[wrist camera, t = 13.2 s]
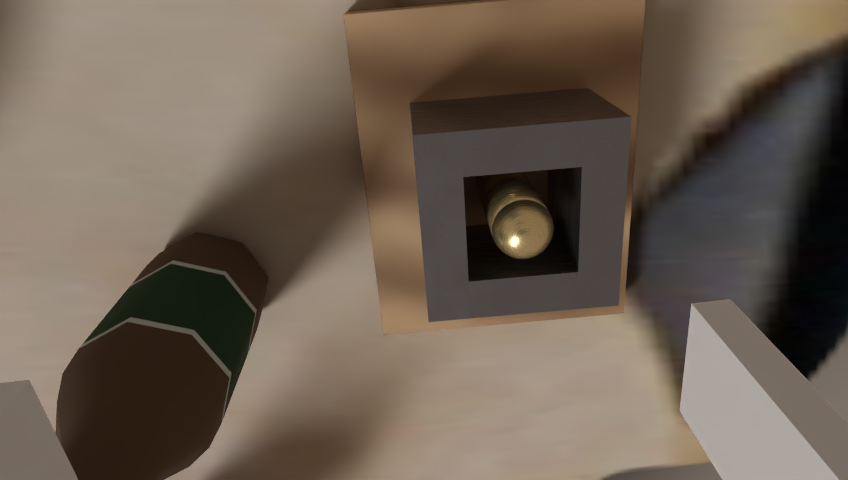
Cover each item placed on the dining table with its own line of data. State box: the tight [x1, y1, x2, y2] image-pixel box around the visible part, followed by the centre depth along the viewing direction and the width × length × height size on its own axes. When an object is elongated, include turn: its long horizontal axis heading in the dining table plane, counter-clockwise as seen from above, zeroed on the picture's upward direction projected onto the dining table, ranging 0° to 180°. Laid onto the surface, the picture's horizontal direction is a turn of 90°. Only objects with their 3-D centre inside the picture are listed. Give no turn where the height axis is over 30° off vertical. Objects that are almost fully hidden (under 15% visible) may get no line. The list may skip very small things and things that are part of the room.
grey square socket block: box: [410, 88, 631, 322], centre depth 33 cm, size 10×10×7 cm
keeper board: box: [344, 0, 646, 335], centre depth 37 cm, size 20×16×2 cm
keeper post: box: [475, 172, 554, 259], centre depth 32 cm, size 3×3×8 cm
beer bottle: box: [56, 233, 268, 480], centre depth 29 cm, size 8×8×24 cm
